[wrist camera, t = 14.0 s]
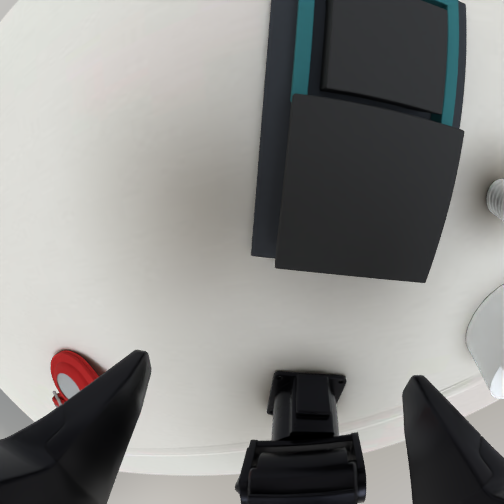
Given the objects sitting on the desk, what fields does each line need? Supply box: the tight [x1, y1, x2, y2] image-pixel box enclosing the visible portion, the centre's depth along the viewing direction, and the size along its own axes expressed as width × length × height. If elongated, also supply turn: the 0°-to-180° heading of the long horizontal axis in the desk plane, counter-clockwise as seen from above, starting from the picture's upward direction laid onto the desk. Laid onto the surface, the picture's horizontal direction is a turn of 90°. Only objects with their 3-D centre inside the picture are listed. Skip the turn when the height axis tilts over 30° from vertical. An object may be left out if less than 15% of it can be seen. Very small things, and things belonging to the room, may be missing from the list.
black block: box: [319, 0, 448, 114], centre depth 12 cm, size 6×6×3 cm
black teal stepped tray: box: [251, 0, 466, 283], centre depth 15 cm, size 19×12×4 cm, turn 176°
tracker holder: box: [51, 350, 99, 407], centre depth 30 cm, size 12×4×10 cm
